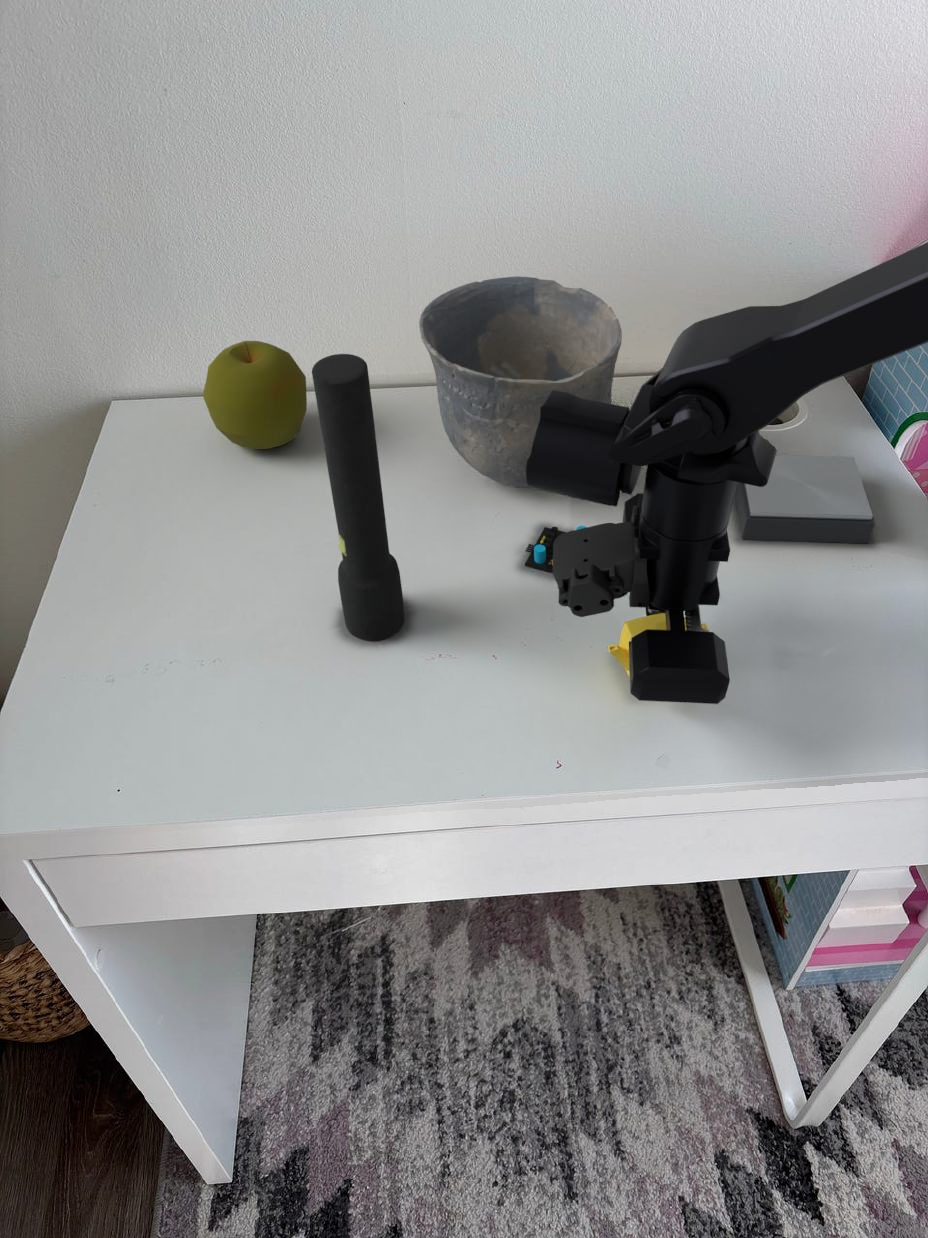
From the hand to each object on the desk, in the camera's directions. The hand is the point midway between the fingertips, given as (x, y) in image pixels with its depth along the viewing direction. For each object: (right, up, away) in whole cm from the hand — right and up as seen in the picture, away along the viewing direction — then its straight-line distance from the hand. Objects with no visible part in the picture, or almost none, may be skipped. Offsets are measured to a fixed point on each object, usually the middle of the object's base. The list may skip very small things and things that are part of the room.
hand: (657, 667), depth 75 cm
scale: (+16, +14, +14) cm, 25 cm away
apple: (-35, +22, +24) cm, 48 cm away
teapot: (0, -1, +1) cm, 1 cm away
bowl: (-10, +19, +20) cm, 30 cm away
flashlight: (-22, +4, +6) cm, 24 cm away
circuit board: (-7, +9, +11) cm, 16 cm away
